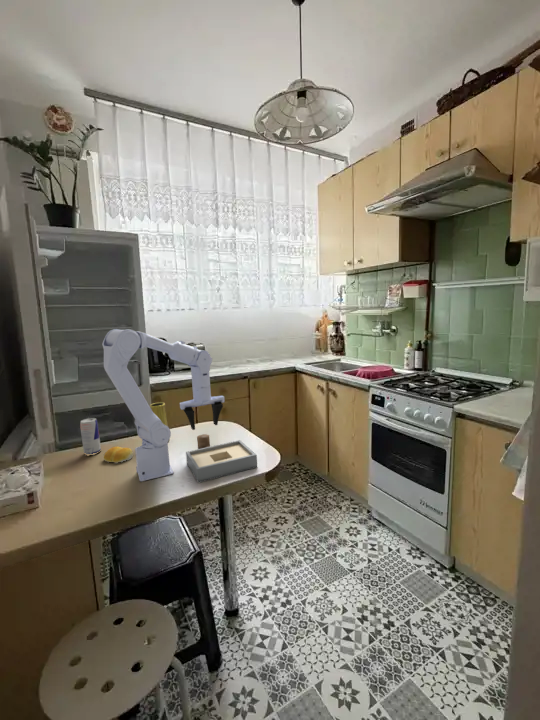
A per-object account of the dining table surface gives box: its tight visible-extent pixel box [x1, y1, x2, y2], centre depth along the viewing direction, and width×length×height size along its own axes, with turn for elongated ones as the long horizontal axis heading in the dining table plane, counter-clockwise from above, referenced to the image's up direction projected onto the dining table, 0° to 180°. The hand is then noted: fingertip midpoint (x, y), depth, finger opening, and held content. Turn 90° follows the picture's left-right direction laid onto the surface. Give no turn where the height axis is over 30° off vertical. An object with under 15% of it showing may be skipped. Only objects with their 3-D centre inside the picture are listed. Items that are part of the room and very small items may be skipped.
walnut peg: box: [196, 433, 211, 449], centre depth 119 cm, size 4×4×6 cm
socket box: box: [185, 439, 258, 483], centre depth 109 cm, size 18×14×4 cm
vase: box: [149, 401, 171, 441], centre depth 132 cm, size 6×6×14 cm
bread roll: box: [103, 446, 134, 464], centre depth 119 cm, size 8×9×4 cm
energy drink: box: [79, 417, 102, 454], centre depth 124 cm, size 5×5×12 cm
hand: (204, 426), depth 118 cm, fingers open, 7 cm apart
